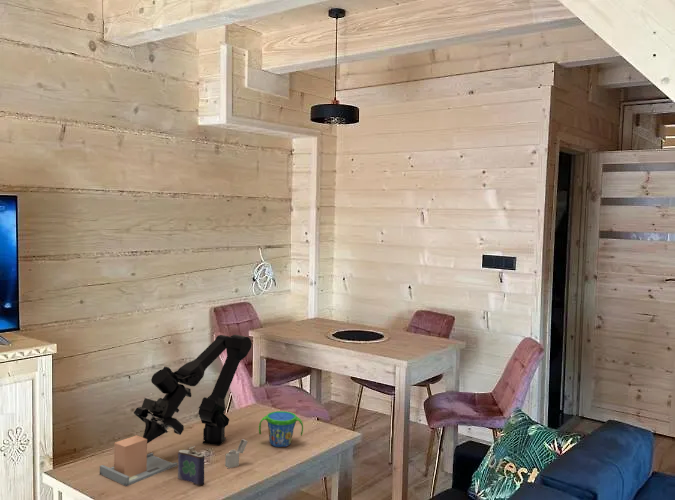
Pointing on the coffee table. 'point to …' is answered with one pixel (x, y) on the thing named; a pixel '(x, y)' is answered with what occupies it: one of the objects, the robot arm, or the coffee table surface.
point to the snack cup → (281, 427)
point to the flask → (191, 466)
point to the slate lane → (153, 467)
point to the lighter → (235, 455)
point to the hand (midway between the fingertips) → (142, 444)
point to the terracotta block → (130, 456)
